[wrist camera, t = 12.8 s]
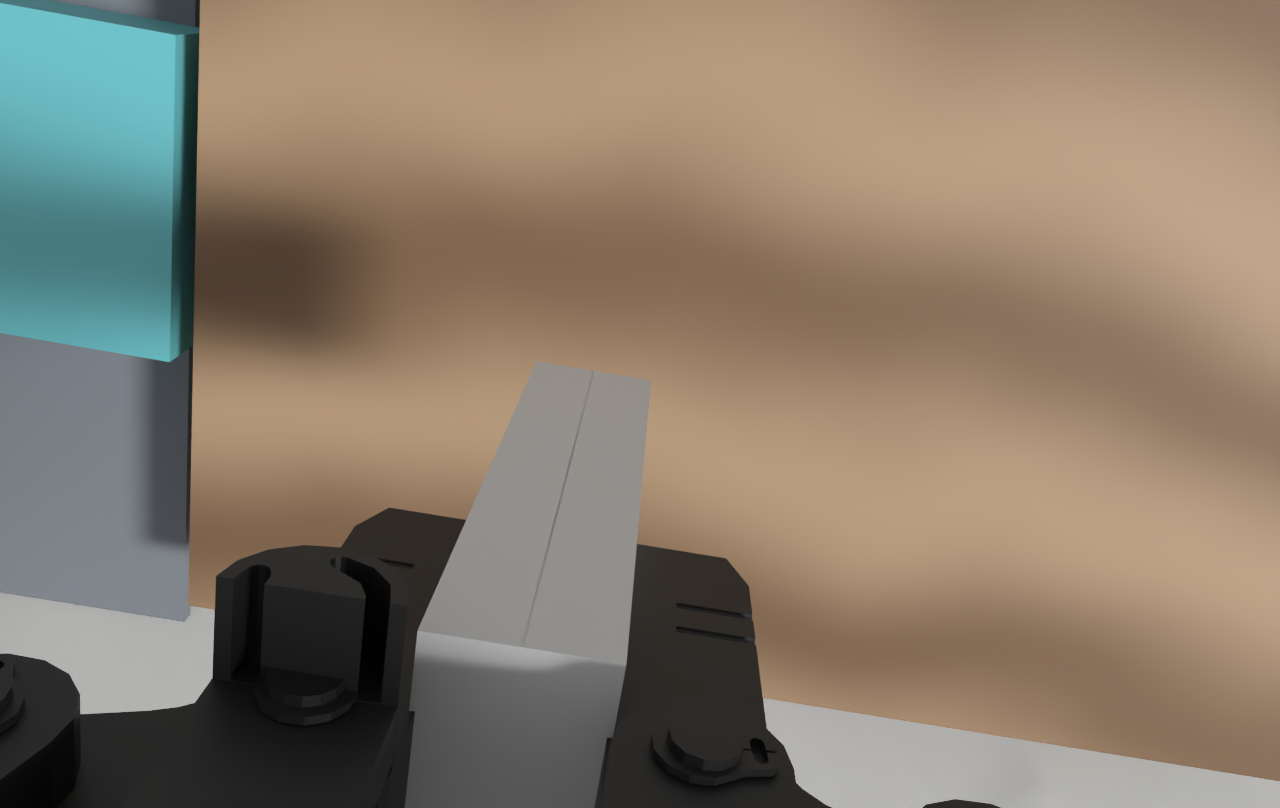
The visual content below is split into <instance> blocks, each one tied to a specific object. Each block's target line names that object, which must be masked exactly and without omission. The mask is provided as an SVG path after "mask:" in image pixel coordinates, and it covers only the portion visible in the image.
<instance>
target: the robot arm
mask: <svg viewBox="0 0 1280 808" xmlns="http://www.w3.org/2000/svg"><path fill="white" fill-rule="evenodd" d="M650 386H651V380H647V379H641V378H635V377H629V376H623V375H617V374H611V373H605V372H599V371H593V370H587V369H581V368H575V367H569V366H563V365H557V364H550V363H544V362H538V361H536V363H535V365H534V367H533V370H532V372H531V374H530V377H529V379H528V381H527V383H526V386H525V388H524V390H523V392H522V395H521V397H520V399H519V401H518V404H517V406H516V408H515V411H514V413H513V415H512V417H511V420H510V422H509V424H508V426H507V429H506V431H505V433H504V436H503V438H502V440H501V442H500V445H499V447H498V449H497V451H496V454H495V456H494V458H493V460H492V463H491V465H490V467H489V470H488V472H487V474H486V476H485V479H484V481H483V483H482V485H481V488H480V490H479V492H478V495H477V497H476V499H475V501H474V504H473V506H472V508H471V510H470V513H469V515H468V517H467V519H466V520H464V519H458V518H451V517H445V516H439V515H433V514H427V513H421V512H414V511H408V510H402V509H396V508H390V507H389V508H387V509H385V510H384V511H382V512H380V513H378V514H376V515H374V516H373V517H371V518H369V519H367V520H365V521H363V522H362V523H360V524H358V525H356V526H355V527H354V528H353V530H352V531H351V533H350V534H349V536H348V537H347V539H346V540H345V542H344V543H343V545H342V546H341V547H328V546H312V545H301V546H292V547H284V548H275V549H268V550H265V551H262V552H259V553H257V554H254V555H251V556H248V557H245V558H242V559H239V560H237V561H236V562H234V563H233V564H232V565H230V566H229V567H228V568H226V569H225V570H223V571H222V572H221V573H219V574H218V575H217V576H216V591H215V622H214V653H213V679H212V680H211V681H210V683H209V684H208V686H207V687H206V688H205V690H204V691H203V693H202V694H201V695H200V697H199V698H198V699H197V701H196V702H195V703H193V704H189V705H186V706H182V707H177V708H169V709H160V710H152V711H139V712H120V713H101V714H81V715H80V694H79V692H78V690H77V688H76V686H75V684H74V683H73V681H72V679H71V677H70V675H69V674H68V673H66V672H64V671H62V670H60V669H59V668H57V667H55V666H53V665H52V664H50V663H48V662H46V661H44V660H40V659H34V658H29V657H23V656H18V655H13V654H0V808H831V807H829V806H827V805H825V804H823V803H822V802H820V801H819V800H818V799H816V798H815V797H813V796H812V795H810V794H809V793H807V792H806V791H804V790H803V789H802V788H801V787H800V786H799V785H798V784H797V783H796V781H795V774H794V769H793V766H792V764H791V762H790V759H789V757H788V755H787V752H786V750H785V748H784V746H783V745H782V744H781V743H780V742H779V741H778V740H777V739H776V738H775V737H774V736H773V735H772V734H771V733H770V732H769V731H768V730H767V729H766V721H765V713H764V705H763V697H762V688H761V680H760V672H759V664H758V656H757V648H756V645H755V631H754V623H753V620H752V607H751V599H750V591H749V585H748V584H747V583H746V582H745V581H744V579H743V578H742V577H741V576H740V575H739V573H738V572H737V571H736V570H735V568H734V567H733V566H732V565H731V564H730V562H729V561H728V560H727V559H726V558H721V557H715V556H709V555H702V554H696V553H690V552H684V551H678V550H672V549H665V548H659V547H653V546H647V545H641V544H637V537H638V525H639V513H640V502H641V490H642V479H643V467H644V456H645V444H646V433H647V421H648V409H649V398H650ZM923 808H1000V807H997V806H994V805H992V804H987V803H979V802H971V801H964V800H956V799H955V800H949V801H944V802H938V803H933V804H927V805H925V806H924V807H923Z"/></svg>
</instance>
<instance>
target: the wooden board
mask: <svg viewBox="0 0 1280 808" xmlns="http://www.w3.org/2000/svg"><path fill="white" fill-rule="evenodd" d="M536 361H538V362H544V363H550V364H557V365H563V366H569V367H575V368H581V369H587V370H593V371H599V372H605V373H611V374H617V375H623V376H629V377H635V378H641V379H647V380H651V386H650V398H649V409H648V421H647V433H646V444H645V456H644V467H643V479H642V490H641V502H640V513H639V525H638V537H637V544H641V545H647V546H653V547H659V548H665V549H672V550H678V551H684V552H690V553H696V554H702V555H709V556H715V557H721V558H726V559H727V560H728V561H729V562H730V564H731V565H732V566H733V567H734V568H735V570H736V571H737V572H738V573H739V575H740V576H741V577H742V578H743V579H744V581H745V582H746V583H747V584H748V585H749V591H750V599H751V607H752V620H753V623H754V631H755V645H756V648H757V656H758V664H759V672H760V680H761V688H762V697H763V698H767V699H774V700H780V701H786V702H792V703H798V704H805V705H811V706H817V707H823V708H829V709H836V710H842V711H848V712H854V713H861V714H867V715H873V716H879V717H885V718H892V719H898V720H904V721H910V722H916V723H923V724H929V725H935V726H941V727H947V728H954V729H960V730H966V731H972V732H979V733H985V734H991V735H997V736H1003V737H1010V738H1016V739H1022V740H1028V741H1034V742H1041V743H1047V744H1053V745H1059V746H1065V747H1072V748H1078V749H1084V750H1090V751H1097V752H1103V753H1109V754H1115V755H1121V756H1128V757H1134V758H1140V759H1146V760H1152V761H1159V762H1165V763H1171V764H1177V765H1183V766H1190V767H1196V768H1202V769H1208V770H1215V771H1221V772H1227V773H1233V774H1239V775H1246V776H1252V777H1258V778H1264V779H1270V780H1277V781H1280V0H200V31H199V82H198V133H197V184H196V235H195V286H194V337H193V388H192V439H191V490H190V541H189V592H188V605H190V606H196V607H202V608H208V609H215V591H216V576H217V575H218V574H219V573H221V572H222V571H223V570H225V569H226V568H228V567H229V566H230V565H232V564H233V563H234V562H236V561H237V560H239V559H242V558H245V557H248V556H251V555H254V554H257V553H259V552H262V551H265V550H268V549H275V548H284V547H292V546H301V545H312V546H328V547H341V546H342V545H343V543H344V542H345V540H346V539H347V537H348V536H349V534H350V533H351V531H352V530H353V528H354V527H355V526H356V525H358V524H360V523H362V522H363V521H365V520H367V519H369V518H371V517H373V516H374V515H376V514H378V513H380V512H382V511H384V510H385V509H387V508H389V507H390V508H396V509H402V510H408V511H414V512H421V513H427V514H433V515H439V516H445V517H451V518H458V519H464V520H466V519H467V517H468V515H469V513H470V510H471V508H472V506H473V504H474V501H475V499H476V497H477V495H478V492H479V490H480V488H481V485H482V483H483V481H484V479H485V476H486V474H487V472H488V470H489V467H490V465H491V463H492V460H493V458H494V456H495V454H496V451H497V449H498V447H499V445H500V442H501V440H502V438H503V436H504V433H505V431H506V429H507V426H508V424H509V422H510V420H511V417H512V415H513V413H514V411H515V408H516V406H517V404H518V401H519V399H520V397H521V395H522V392H523V390H524V388H525V386H526V383H527V381H528V379H529V377H530V374H531V372H532V370H533V367H534V365H535V363H536Z"/></svg>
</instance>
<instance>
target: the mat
mask: <svg viewBox="0 0 1280 808" xmlns="http://www.w3.org/2000/svg"><path fill="white" fill-rule="evenodd" d="M52 1H57V2H63V3H68V4H74V5H79V6H85V7H90V8H95V9H101V10H106V11H112V12H117V13H123V14H128V15H134V16H139V17H145V18H150V19H155V20H161V21H166V22H172V23H177V24H183V25H188V26H194V27H199V28H200V0H52ZM192 388H193V346H192V347H190V348H189V349H188V350H186V351H185V352H183V353H182V354H181V355H179V356H178V357H176V358H175V359H174V360H172V361H171V362H166V361H160V360H154V359H148V358H142V357H137V356H131V355H125V354H119V353H114V352H108V351H102V350H96V349H90V348H85V347H79V346H73V345H67V344H62V343H56V342H50V341H44V340H38V339H33V338H27V337H21V336H15V335H10V334H4V333H0V592H2V593H9V594H15V595H21V596H27V597H34V598H40V599H46V600H52V601H58V602H65V603H71V604H77V605H83V606H90V607H96V608H102V609H108V610H114V611H121V612H127V613H133V614H139V615H146V616H152V617H158V618H164V619H171V620H177V621H183V622H184V621H185V620H186V619H187V617H188V616H189V615H190V605H188V592H189V541H190V490H191V439H192Z"/></svg>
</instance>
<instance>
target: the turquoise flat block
mask: <svg viewBox="0 0 1280 808" xmlns="http://www.w3.org/2000/svg"><path fill="white" fill-rule="evenodd" d="M199 31H200V28H199V27H194V26H188V25H183V24H177V23H172V22H166V21H161V20H155V19H150V18H145V17H139V16H134V15H128V14H123V13H117V12H112V11H106V10H101V9H95V8H90V7H85V6H79V5H74V4H68V3H63V2H57V1H52V0H0V333H4V334H10V335H15V336H21V337H27V338H33V339H38V340H44V341H50V342H56V343H62V344H67V345H73V346H79V347H85V348H90V349H96V350H102V351H108V352H114V353H119V354H125V355H131V356H137V357H142V358H148V359H154V360H160V361H166V362H171V361H172V360H174V359H175V358H176V357H178V356H179V355H181V354H182V353H183V352H185V351H186V350H188V349H189V348H190V347H192V346H193V337H194V286H195V235H196V184H197V133H198V82H199Z"/></svg>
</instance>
